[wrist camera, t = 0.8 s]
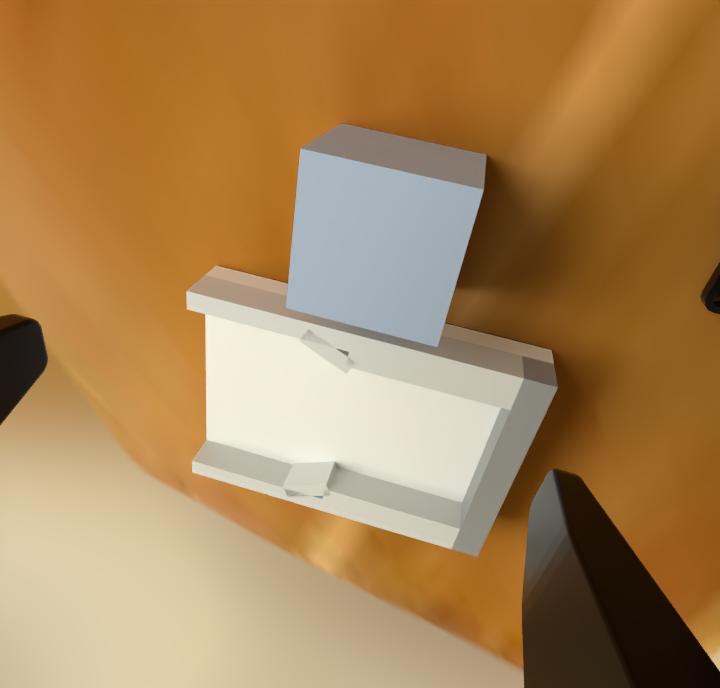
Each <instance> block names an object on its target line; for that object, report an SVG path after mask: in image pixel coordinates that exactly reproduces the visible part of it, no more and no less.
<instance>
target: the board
mask: <svg viewBox="0 0 720 688" xmlns="http://www.w3.org/2000/svg"><path fill="white" fill-rule="evenodd" d="M287 291H288V283H284V282H280V281H276V280H272V279H268V278H264V277H260V276H256V275H252V274H248V273H244V272H240V271H236V270H232V269H228V268H224V267H220V266H217V265H216V266H215V267H214V268H213V269H212V270H210V271H209V272H208V273H207V274H206V275H205V276H203V277H202V278H201V279H200V280H199V281H198V282H196V283H195V284H194V285H193V286H192V287H191V288H189V289H188V290H187V291H186V293H187V309H188V310H192V311H196V312H200V313H203V314H206V422H207V440H206V441H205V443H204V444H203V446H202V447H201V449H200V450H199V451H198V453H197V454H196V456H195V457H194V459H193V460H192V472H193V473H196V474H200V475H203V476H206V477H210V478H213V479H216V480H220V481H223V482H227V483H230V484H233V485H237V486H240V487H243V488H247V489H250V490H254V491H257V492H260V493H264V494H267V495H270V496H274V497H277V498H280V499H284V500H287V501H291V502H294V503H297V504H301V505H304V506H307V507H311V508H314V509H318V510H321V511H324V512H328V513H331V514H334V515H338V516H341V517H344V518H348V519H351V520H355V521H358V522H361V523H365V524H368V525H371V526H375V527H378V528H382V529H385V530H388V531H392V532H395V533H398V534H402V535H405V536H408V537H412V538H415V539H419V540H422V541H425V542H429V543H432V544H435V545H439V546H442V547H446V548H449V549H452V550H456V551H459V552H462V553H466V554H469V555H472V556H476V557H477V556H478V554H479V552H480V550H481V548H482V546H483V544H484V542H485V540H486V538H487V535H488V533H489V531H490V529H491V527H492V525H493V523H494V521H495V519H496V517H497V514H498V512H499V510H500V508H501V506H502V504H503V502H504V500H505V498H506V496H507V493H508V491H509V489H510V487H511V485H512V483H513V481H514V479H515V477H516V475H517V473H518V470H519V468H520V466H521V464H522V462H523V460H524V458H525V456H526V454H527V452H528V449H529V447H530V445H531V443H532V441H533V439H534V437H535V435H536V433H537V431H538V428H539V426H540V424H541V422H542V420H543V418H544V416H545V414H546V412H547V410H548V407H549V405H550V403H551V401H552V399H553V397H554V395H555V393H556V391H557V389H558V384H557V378H556V372H555V367H554V361H553V355H552V350H549V349H545V348H541V347H537V346H534V345H530V344H526V343H522V342H518V341H514V340H510V339H506V338H502V337H498V336H494V335H490V334H486V333H482V332H478V331H474V330H470V329H466V328H462V327H458V326H454V325H450V324H446V323H444V327H443V330H442V334H441V337H440V340H439V344H438V347H434V346H430V345H426V344H423V343H419V342H415V341H411V340H407V339H403V338H399V337H395V336H392V335H388V334H384V333H380V332H376V331H372V330H368V329H365V328H361V327H357V326H353V325H349V324H345V323H341V322H338V321H334V320H330V319H326V318H322V317H318V316H314V315H310V314H307V313H303V312H299V311H295V310H291V309H287V308H286V302H287Z"/></svg>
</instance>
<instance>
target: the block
mask: <svg viewBox="0 0 720 688" xmlns="http://www.w3.org/2000/svg"><path fill="white" fill-rule="evenodd" d="M486 156H487V155H486V154H481V153H477V152H472V151H467V150H463V149H458V148H454V147H449V146H444V145H440V144H435V143H431V142H426V141H421V140H417V139H412V138H408V137H403V136H398V135H394V134H389V133H385V132H380V131H375V130H371V129H366V128H362V127H357V126H352V125H348V124H343V123H341V124H339V125H338V126H336V127H334V128H333V129H331V130H330V131H328V132H326V133H325V134H323V135H321V136H320V137H318V138H317V139H315V140H313V141H312V142H310V143H309V144H307V145H305V146H304V147H302V148H300V159H299V170H298V181H297V192H296V203H295V214H294V225H293V236H292V247H291V258H290V269H289V280H288V291H287V302H286V308H287V309H291V310H295V311H299V312H303V313H307V314H310V315H314V316H318V317H322V318H326V319H330V320H334V321H338V322H341V323H345V324H349V325H353V326H357V327H361V328H365V329H368V330H372V331H376V332H380V333H384V334H388V335H392V336H395V337H399V338H403V339H407V340H411V341H415V342H419V343H423V344H426V345H430V346H434V347H438V344H439V340H440V337H441V334H442V330H443V327H444V323H445V320H446V317H447V313H448V310H449V306H450V303H451V300H452V296H453V293H454V289H455V286H456V283H457V279H458V276H459V272H460V269H461V266H462V262H463V259H464V255H465V252H466V249H467V245H468V242H469V239H470V235H471V232H472V228H473V225H474V222H475V218H476V215H477V211H478V208H479V205H480V201H481V198H482V194H483V191H484V182H485V169H486Z"/></svg>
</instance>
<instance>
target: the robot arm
mask: <svg viewBox="0 0 720 688" xmlns="http://www.w3.org/2000/svg"><path fill="white" fill-rule="evenodd" d="M718 294H720V263H719V264H718V266H717V268H716V269H715V271H714V273H713V274H712V276H711V278H710V279H709V281H708V283H707V284H706V286H705V288H704V289H703V291H702V294H701V301H702V302H703V304H704V305H705V306H706V308H707V309H708V310H709V311H711V312H714V313H717V314H720V301H713V300H714V297H715V296H716V295H718ZM47 363H48V355H47V351H46V346H45V341H44V337H43V332H42V328H41V325H40V324H39V323H38V321H36V320H34V319H32V318H28V317H25V316H21V315H17V314H10V315H5V316H0V425H1V424H2V422H3V421H4V420H5V419H6V417H7V416H8V415H9V414H10V413H11V411H12V410H13V409H14V407H15V406H16V405H17V404H18V403H19V401H20V400H21V399H22V398H23V396H24V395H25V394H26V393H27V391H28V390H29V389H30V387H32V385H33V384H34V383H35V381H36V380H37V379H38V378H39V377H40V375H41V374H42V373H43V372H44V370H45V368H46V366H47ZM522 636H523V664H524V688H720V671H719V670H718V669H717V667H716V666H715V664H714V663H713V662H712V660H711V659H710V657H709V656H708V654H707V653H706V652H705V650H704V649H703V647H702V646H701V645H700V643H699V642H698V640H697V639H696V638H695V636H694V635H693V634H692V632H691V631H690V629H689V628H688V627H687V625H686V624H685V622H684V621H683V620H682V618H681V617H680V615H679V614H678V613H677V611H676V610H675V608H674V607H673V606H672V604H671V603H670V601H669V600H668V599H667V597H666V596H665V594H664V593H663V592H662V590H661V589H660V588H659V586H658V585H657V583H656V582H655V581H654V579H653V578H652V576H651V575H650V574H649V572H648V571H647V569H646V568H645V567H644V565H643V564H642V562H641V561H640V560H639V558H638V557H637V555H636V554H635V553H634V551H633V550H632V548H631V547H630V546H629V544H628V543H627V541H626V540H625V539H624V537H623V536H622V535H621V533H620V532H619V530H618V529H617V528H616V526H615V525H614V523H613V522H612V521H611V519H610V518H609V516H608V515H607V514H606V512H605V511H604V509H603V508H602V507H601V505H600V504H599V502H598V501H597V500H596V498H595V497H594V495H593V494H592V493H591V491H590V490H589V489H588V487H587V486H586V484H585V483H584V482H583V480H582V479H581V478H580V477H579V476H578V475H576V474H573V473H570V472H566V471H563V470H559V469H551V470H550V471H549V472H548V473H547V475H546V477H545V479H544V481H543V483H542V485H541V486H540V488H539V490H538V492H537V494H536V496H535V498H534V500H533V502H532V505H531V508H530V513H529V522H528V535H527V547H526V559H525V571H524V583H523V597H522Z"/></svg>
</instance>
